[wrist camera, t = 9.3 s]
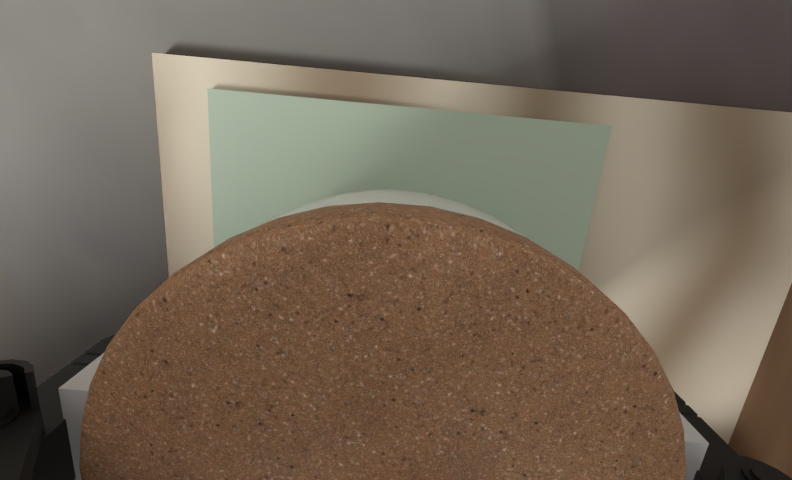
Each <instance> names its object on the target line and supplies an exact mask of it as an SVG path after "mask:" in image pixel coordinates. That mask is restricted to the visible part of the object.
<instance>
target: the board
mask: <svg viewBox="0 0 792 480" xmlns="http://www.w3.org/2000/svg"><path fill="white" fill-rule="evenodd" d="M152 62H153V75H154V89H155V102H156V115H157V128H158V141H159V155H160V168H161V181H162V194H163V207H164V220H165V234H166V247H167V260H168V273H169V277H170V276H171V275H173V274H174V273H175V272H177V271H178V270H180V269H181V268H183V267H184V266H186V265H188V264H189V263H191V262H192V261H194V260H195V259H197V258H199V257H200V256H202V255H203V254H205V253H207V252H208V251H210V250H211V249H213V248H214V237H213V213H212V188H211V164H210V139H209V115H208V91H207V88H208V89H219V90H230V91H241V92H252V93H262V94H273V95H284V96H295V97H305V98H316V99H327V100H338V101H349V102H359V103H370V104H381V105H392V106H403V107H413V108H424V109H435V110H446V111H456V112H467V113H478V114H489V115H500V116H510V117H521V118H532V119H543V120H554V121H564V122H575V123H586V124H597V125H607V126H612V128H611V133H610V137H609V141H608V146H607V150H606V154H605V159H604V163H603V167H602V172H601V176H600V180H599V185H598V189H597V193H596V198H595V202H594V206H593V211H592V215H591V219H590V224H589V228H588V232H587V237H586V241H585V245H584V249H583V254H582V258H581V262H580V267H579V272H580V273H581V274H582V275H584V276H585V277H586V278H587V279H588V280H589V281H590V282H591V283H592V284H594V285H595V286H596V287H597V288H598V289H599V290H600V291H601V292H602V293H604V294H605V295H606V296H607V297H608V298H609V299H610V300H611V301H612V302H614V303H615V304H616V305H617V306H618V307H619V308H620V309H621V310H622V311H623V312H624V313H626V315H627V316H628V317H629V319H630V320H631V321H632V323H633V324H634V325H635V327H636V328H637V329H638V330H639V332H640V333H641V334H642V336H643V337H644V338H645V340H646V341H647V342H648V343H649V345H650V346H651V347H652V349H653V350H654V352H655V354H656V356H657V358H658V360H659V362H660V364H661V366H662V368H663V370H664V372H665V374H666V376H667V378H668V380H669V382H670V384H671V386H672V388H673V390H674V391H675V392H676V393H677V394H678V395H679V396H680V397H681V398H682V399H683V400H684V401H685V402H686V405H689V406H690V407H691V408H692V409H693V410H694V411H695V412H696V413H697V416H698V417H701V418H702V419H703V420H704V421H705V422H706V423H707V424H708V425H709V426H710V427H711V428H712V429H713V430H714V431H715V432H716V433H717V434H718V435H719V436H720V437H721V438H722V439H723V440H724V441H725V442H726V443H727V444H729V441H730V438H731V436H732V433H733V431H734V428H735V426H736V423H737V421H738V418H739V416H740V413H741V411H742V408H743V405H744V403H745V400H746V398H747V395H748V393H749V390H750V388H751V385H752V383H753V380H754V378H755V375H756V373H757V370H758V367H759V365H760V362H761V360H762V357H763V355H764V352H765V350H766V347H767V345H768V342H769V340H770V337H771V335H772V332H773V329H774V327H775V324H776V322H777V319H778V317H779V314H780V312H781V309H782V307H783V304H784V302H785V299H786V296H787V294H788V291H789V289H790V286H791V284H792V112H781V111H771V110H760V109H749V108H739V107H728V106H717V105H707V104H696V103H685V102H674V101H664V100H653V99H642V98H632V97H621V96H610V95H600V94H589V93H578V92H567V91H557V90H546V89H535V88H525V87H514V86H503V85H492V84H482V83H471V82H460V81H450V80H439V79H428V78H418V77H407V76H396V75H385V74H375V73H364V72H353V71H343V70H332V69H321V68H311V67H300V66H289V65H278V64H268V63H257V62H246V61H236V60H225V59H214V58H203V57H193V56H182V55H171V54H161V53H152Z"/></svg>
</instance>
